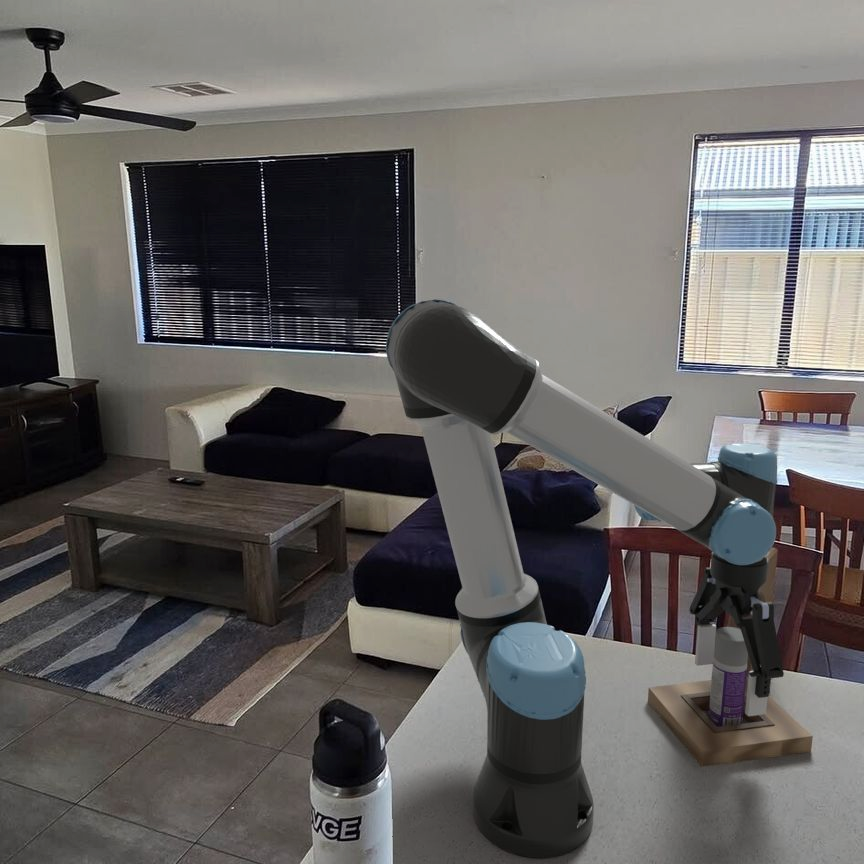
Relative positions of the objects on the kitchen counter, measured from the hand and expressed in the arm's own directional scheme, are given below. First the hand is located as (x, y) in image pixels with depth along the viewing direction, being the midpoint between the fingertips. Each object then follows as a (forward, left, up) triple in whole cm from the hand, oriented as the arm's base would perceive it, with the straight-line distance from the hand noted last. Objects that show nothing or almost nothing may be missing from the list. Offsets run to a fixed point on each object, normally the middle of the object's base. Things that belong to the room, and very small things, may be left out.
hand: (728, 687), depth 111 cm
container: (0, 0, -7) cm, 7 cm away
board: (0, 0, -6) cm, 6 cm away
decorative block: (+13, +16, -7) cm, 22 cm away
